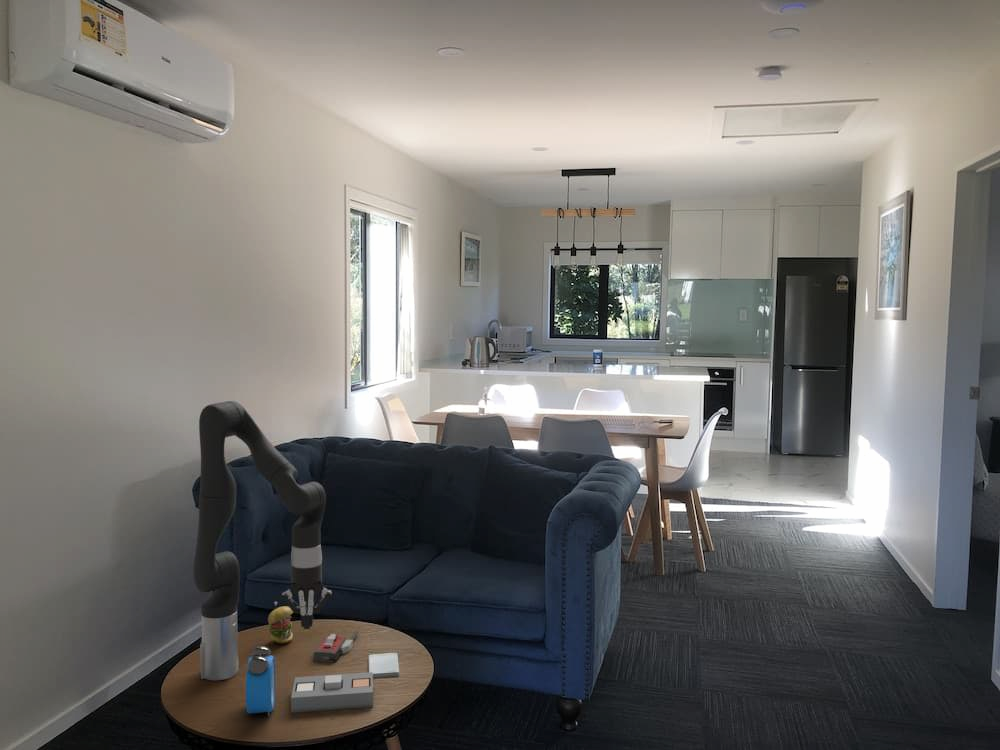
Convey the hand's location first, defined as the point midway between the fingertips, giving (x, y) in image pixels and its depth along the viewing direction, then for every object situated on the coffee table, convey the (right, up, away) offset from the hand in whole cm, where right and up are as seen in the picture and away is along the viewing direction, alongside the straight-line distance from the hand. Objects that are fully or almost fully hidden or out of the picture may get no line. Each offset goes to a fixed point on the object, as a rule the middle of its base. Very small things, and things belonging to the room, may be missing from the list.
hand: (307, 627), depth 204 cm
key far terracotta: (+13, -18, +2) cm, 22 cm away
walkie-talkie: (+1, -17, +31) cm, 35 cm away
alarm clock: (-10, -19, -5) cm, 22 cm away
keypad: (+6, -19, +1) cm, 20 cm away
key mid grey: (+6, -16, +1) cm, 18 cm away
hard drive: (+17, -18, +20) cm, 31 cm away
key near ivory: (0, -18, 0) cm, 18 cm away
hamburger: (-16, -16, +36) cm, 42 cm away
